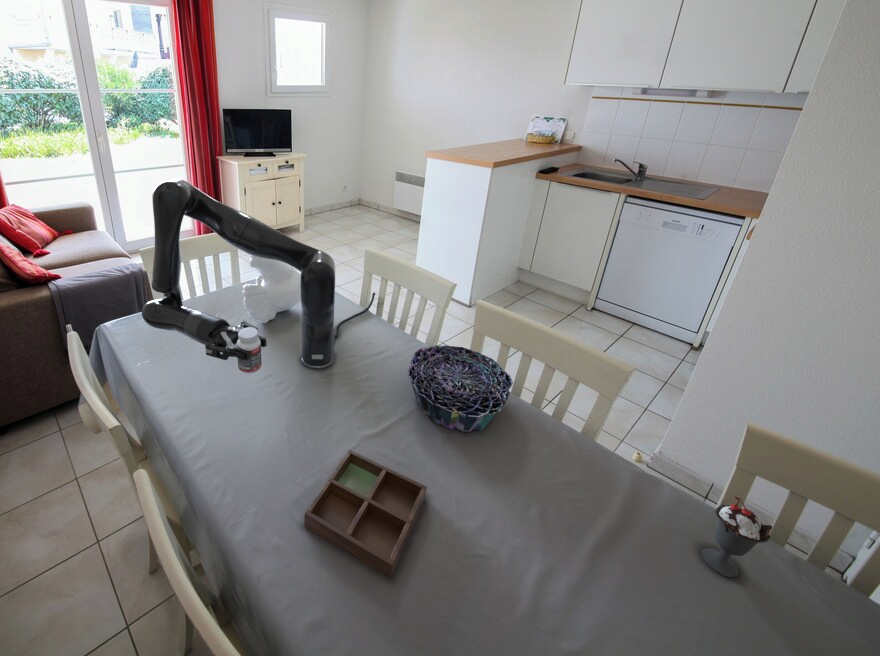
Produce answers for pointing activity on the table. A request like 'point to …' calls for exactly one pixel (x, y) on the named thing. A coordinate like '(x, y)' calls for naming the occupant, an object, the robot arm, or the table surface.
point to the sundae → (734, 537)
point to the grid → (367, 511)
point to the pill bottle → (249, 350)
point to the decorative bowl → (458, 386)
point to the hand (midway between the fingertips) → (257, 349)
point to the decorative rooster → (271, 289)
